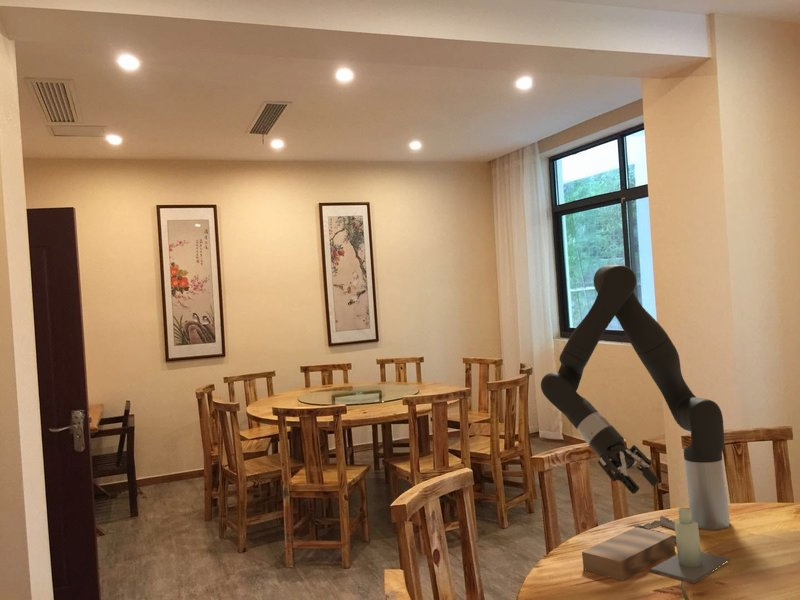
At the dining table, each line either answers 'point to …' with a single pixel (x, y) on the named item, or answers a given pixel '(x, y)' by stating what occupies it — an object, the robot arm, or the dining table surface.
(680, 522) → the celadon bottle
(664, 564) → the charcoal mat
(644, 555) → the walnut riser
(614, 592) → the dining table surface
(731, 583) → the dining table surface
